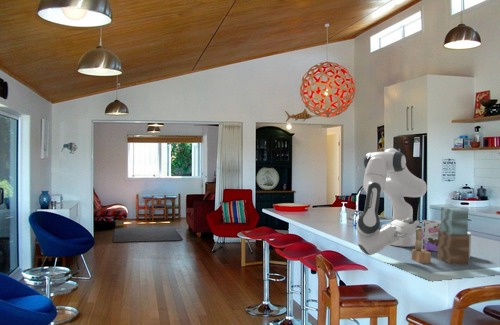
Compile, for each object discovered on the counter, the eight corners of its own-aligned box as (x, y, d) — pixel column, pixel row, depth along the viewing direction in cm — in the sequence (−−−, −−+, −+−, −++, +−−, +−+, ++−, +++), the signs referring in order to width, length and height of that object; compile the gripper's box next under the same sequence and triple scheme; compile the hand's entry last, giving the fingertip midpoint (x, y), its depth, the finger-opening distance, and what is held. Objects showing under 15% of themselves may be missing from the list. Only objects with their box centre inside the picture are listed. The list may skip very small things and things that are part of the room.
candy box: (422, 251, 262) (423, 220, 262) (420, 248, 268) (421, 219, 268) (449, 252, 260) (450, 222, 260) (446, 250, 266) (447, 220, 266)
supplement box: (470, 258, 246) (471, 233, 246) (454, 256, 249) (455, 232, 249) (469, 255, 253) (470, 231, 253) (454, 254, 256) (455, 230, 256)
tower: (437, 258, 244) (439, 207, 243) (454, 258, 245) (456, 207, 244) (450, 264, 231) (452, 210, 231) (468, 264, 232) (470, 210, 231)
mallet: (412, 227, 240) (424, 227, 240) (411, 259, 240) (423, 259, 241) (419, 229, 232) (431, 230, 232) (418, 262, 232) (430, 263, 233)
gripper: (396, 232, 224) (421, 217, 225) (380, 225, 244) (403, 212, 245) (402, 243, 224) (427, 229, 225) (385, 236, 245) (408, 222, 246)
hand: (414, 220), depth 236 cm, fingers open, 8 cm apart
